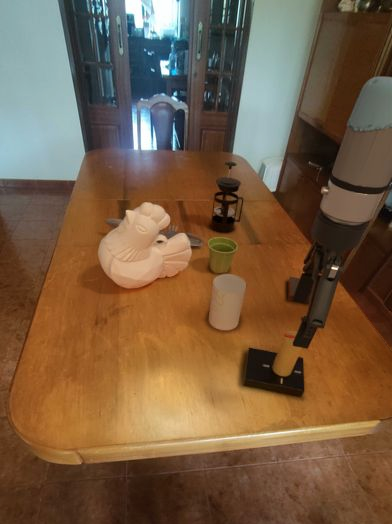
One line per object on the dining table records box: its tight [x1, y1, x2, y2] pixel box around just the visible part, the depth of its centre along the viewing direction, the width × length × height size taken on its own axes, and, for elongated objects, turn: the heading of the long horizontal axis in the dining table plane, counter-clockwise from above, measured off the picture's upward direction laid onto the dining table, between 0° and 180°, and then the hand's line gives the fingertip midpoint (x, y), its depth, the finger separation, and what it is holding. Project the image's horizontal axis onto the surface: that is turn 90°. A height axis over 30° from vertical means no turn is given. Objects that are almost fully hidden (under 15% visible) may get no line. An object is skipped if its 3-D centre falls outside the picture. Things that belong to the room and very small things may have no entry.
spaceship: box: [104, 217, 205, 247], centre depth 110 cm, size 8×35×8 cm
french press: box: [209, 161, 245, 234], centre depth 116 cm, size 12×9×23 cm
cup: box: [208, 273, 247, 331], centre depth 82 cm, size 8×8×12 cm
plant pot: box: [207, 236, 239, 275], centre depth 101 cm, size 9×9×9 cm
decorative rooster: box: [97, 201, 193, 289], centre depth 88 cm, size 25×16×25 cm
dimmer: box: [242, 347, 305, 398], centre depth 73 cm, size 13×10×3 cm
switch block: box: [287, 276, 312, 306], centre depth 96 cm, size 11×10×4 cm
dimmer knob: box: [272, 330, 303, 376], centre depth 68 cm, size 4×4×10 cm
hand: (299, 322), depth 62 cm, fingers open, 13 cm apart
